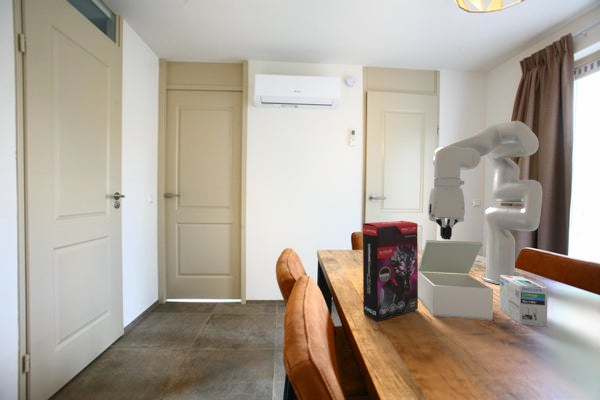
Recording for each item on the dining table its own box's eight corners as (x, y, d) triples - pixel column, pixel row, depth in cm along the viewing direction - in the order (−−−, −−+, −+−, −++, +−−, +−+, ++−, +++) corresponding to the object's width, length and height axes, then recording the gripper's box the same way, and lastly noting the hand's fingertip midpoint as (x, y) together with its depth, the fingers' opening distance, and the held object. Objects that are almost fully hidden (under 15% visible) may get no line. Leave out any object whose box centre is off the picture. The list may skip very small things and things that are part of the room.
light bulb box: (548, 327, 69) (549, 288, 69) (519, 324, 71) (520, 286, 70) (522, 310, 80) (523, 275, 79) (498, 307, 81) (498, 274, 81)
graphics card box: (377, 323, 70) (378, 224, 70) (360, 312, 76) (361, 222, 76) (418, 310, 78) (420, 222, 78) (400, 302, 84) (401, 220, 84)
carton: (467, 300, 86) (467, 274, 86) (492, 320, 73) (493, 289, 72) (417, 297, 89) (418, 271, 88) (432, 316, 75) (433, 285, 75)
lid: (468, 273, 86) (467, 271, 87) (482, 244, 78) (481, 242, 79) (418, 271, 88) (417, 269, 89) (427, 242, 80) (426, 240, 81)
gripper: (464, 184, 88) (463, 237, 88) (419, 184, 90) (418, 236, 90) (477, 183, 80) (476, 241, 81) (427, 183, 82) (426, 240, 83)
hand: (445, 238), depth 85 cm, fingers closed
